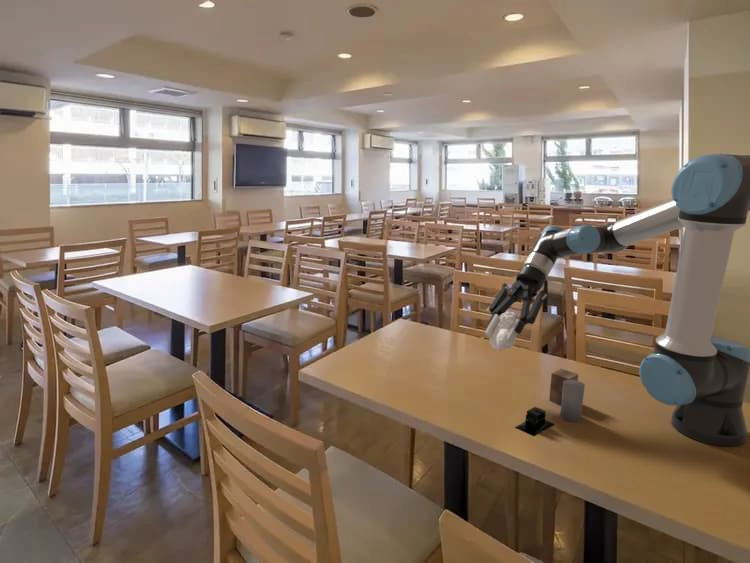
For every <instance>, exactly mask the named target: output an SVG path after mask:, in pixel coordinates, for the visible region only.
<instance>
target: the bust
mask: <svg viewBox="0 0 750 563" xmlns="http://www.w3.org/2000/svg"><path fill="white" fill-rule="evenodd" d="M499 318H500V323H499V324H498V326H497V327H496V328H495V330H494V332H493V333H492V336H491V338H489V343H490V345H491V346H492V348H493V349H495V350H498V351H502V350H504V349H509V348H512V346H514V343H515V342H516V339H515V340H514V341H513V343H512V344H509V342H508V340H507V339H506V337H507V335H508V334H509V332H510V330H511V328H512V326H513V324H514V323H515V321H516V319H519V315H518V314H517V313H516V312H514V311H510V310H506V311H505V312H504V313H503V314H501V315H500V317H499Z"/></svg>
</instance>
